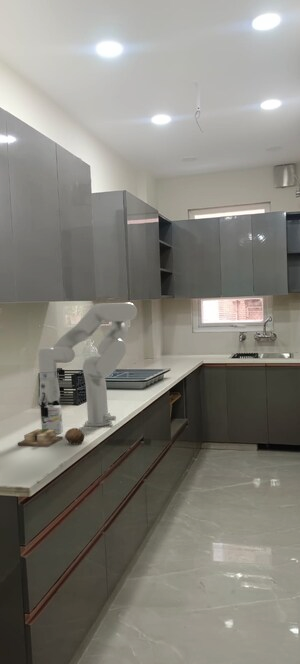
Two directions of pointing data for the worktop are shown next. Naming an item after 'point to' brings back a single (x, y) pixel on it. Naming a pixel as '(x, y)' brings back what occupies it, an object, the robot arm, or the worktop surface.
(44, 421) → the ink box
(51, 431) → the stand
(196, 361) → the worktop surface
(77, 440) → the mushroom
